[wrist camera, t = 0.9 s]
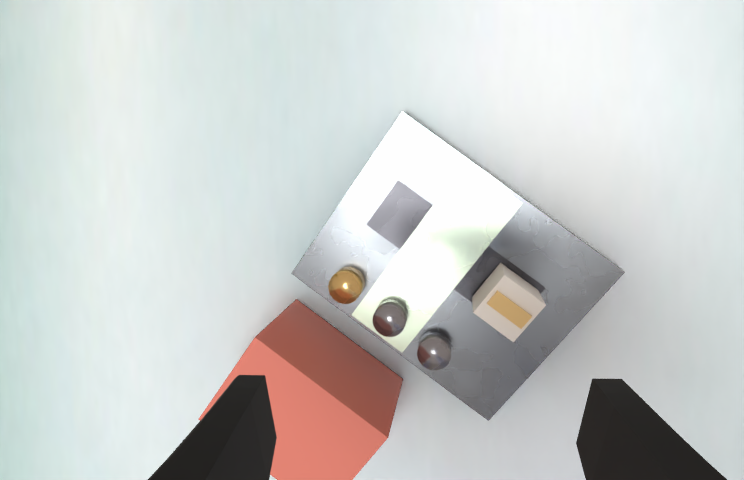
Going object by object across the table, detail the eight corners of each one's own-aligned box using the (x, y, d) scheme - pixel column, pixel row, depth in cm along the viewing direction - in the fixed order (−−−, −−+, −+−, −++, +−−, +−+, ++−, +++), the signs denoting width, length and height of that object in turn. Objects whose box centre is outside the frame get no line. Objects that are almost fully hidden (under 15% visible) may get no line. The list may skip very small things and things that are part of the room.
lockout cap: (403, 378, 29) (387, 437, 23) (349, 444, 30) (322, 514, 24) (296, 299, 29) (255, 337, 23) (248, 367, 30) (198, 419, 25)
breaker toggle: (537, 289, 25) (546, 306, 22) (508, 324, 26) (513, 344, 23) (500, 262, 25) (505, 275, 22) (471, 297, 26) (473, 314, 23)
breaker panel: (618, 267, 25) (633, 278, 23) (487, 411, 28) (489, 432, 26) (404, 112, 26) (399, 109, 24) (297, 269, 29) (283, 278, 26)
